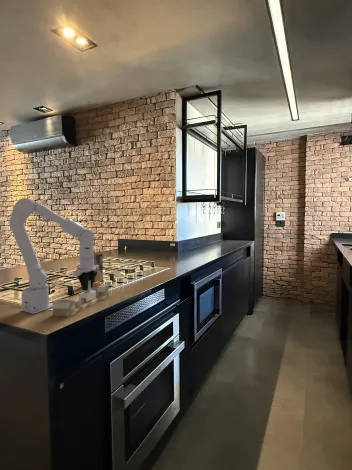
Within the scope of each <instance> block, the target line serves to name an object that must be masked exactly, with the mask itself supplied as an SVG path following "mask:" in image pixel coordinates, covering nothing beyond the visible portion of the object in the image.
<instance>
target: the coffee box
mask: <svg viewBox="0 0 352 470" xmlns="http://www.w3.org/2000/svg"><path fill="white" fill-rule="evenodd" d="M103 259H104V258H103V253H94V265H99V269H98V270H94V271H97V275H96V277H95V279H94V281H98V282H100V281H102V280H103V281H104V268H103V267H104V265H103V263H104V261H103Z"/></svg>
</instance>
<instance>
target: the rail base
mask: <svg viewBox="0 0 352 470" xmlns="http://www.w3.org/2000/svg"><path fill="white" fill-rule="evenodd" d="M91 290H93V291H96V298H94V299H92V300H90V301H88V302H86V299H85V298H83V299H81V300H79V299H78V300H76V301H75V300H73V299H67V298H66V299H64V298H58V299H56V300H53V301H52V304H51V305H52V306H53V307H52V316H56V317H57V316H58V317H62V318H70V317H72V316H74V315H76V314H78V313H80V312H81V311H83V310H86V309H87V308H88V307H91V306H93V305H94V304H95V305H96V304H97V303H98V302H100V301H102V300H105V299H106V298H108V297H110V285H109V284H103V283H102V284H100V286H93V287H92V288H91Z"/></svg>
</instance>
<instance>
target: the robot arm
mask: <svg viewBox="0 0 352 470" xmlns="http://www.w3.org/2000/svg"><path fill="white" fill-rule="evenodd" d="M33 213H34V214H33ZM32 214H33V215H38V216H39V215H40V216H44V217H45V218H47V219H48V220H50V221H53V222H54V223H56V224H58V225H60V227H61V231H63V232H65V233H67V234H68V235H70V236H72V237H73V238H75V239H77V238H78V240H79V248H78V250H79V253H78V255H79V268H78V269H76V270H74V271H73V276H74V277H76V278H77V279H78V281H79V283H80V286H81V290H82V291H84V290H85V291H87V290H88V281H89V280H91V288H92V287H93V283H94V279H95V277H96V275H97V271H94V270H98V269H99V265H94V254H95V253H94V240H95V236H94V235H95V234H94V233H93V231H91V229H89V228H87V226H86V225H82V224H80V223H78V222H77V220H76V219H75V218H70V217H69V218H65V217H62V216H61V215H59V214H58V213H56V212H55V211H54V210H52V209H50V208H49V207H47V206H45V205H44V204H42V203H38V202H37V201H33V200H32V199H29V198H27V197H23V198H20V199H18V200H17V202H16V203H15V204H14V205H13V206H12V211H11V215H10V219H9V221H8V223H9V228H10V229H11V230H10V231H11V232H12V235H13V237H14V239H15V241H16V244H17V246H18V249H19V251H20V254H21V257H22V259H23V262H24V263H25V266H26V270H27V273H28V277H29V278H28V283H29V285H28V288H27V289H24V290H23V291H22V292H21V309H20V311H22V312H25V313H28V314H31V315H32V314H33V315H34V314H37V313H40V312H44V311H47V310H49V309H53V306H52V304H50V294H49V293H50V292H49V291H50V290H49V283H47V282H48V278H47V277H48V273H47V271H46V270H45V269H44V268H43V267H42V265H41V263H40V261H39V259H38V256H37V254H36V251H35V248H34V247H33V246H34V245H33V244H32V241H31V239H30V235H29V233H28V231H27V228H26V226H25V223H26V222H27V220H28V218H29V217H30V216H31V215H32Z"/></svg>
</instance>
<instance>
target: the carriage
mask: <svg viewBox="0 0 352 470" xmlns="http://www.w3.org/2000/svg"><path fill="white" fill-rule="evenodd" d="M78 298H79V299H78V300H81V299H83V298H85V299H86V302H88V301H90V300H92V299H94V298H96V291H93V290H91V280H89V281H88V290H87V291H85V290H83V291H81V292H79V293H78Z"/></svg>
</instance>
